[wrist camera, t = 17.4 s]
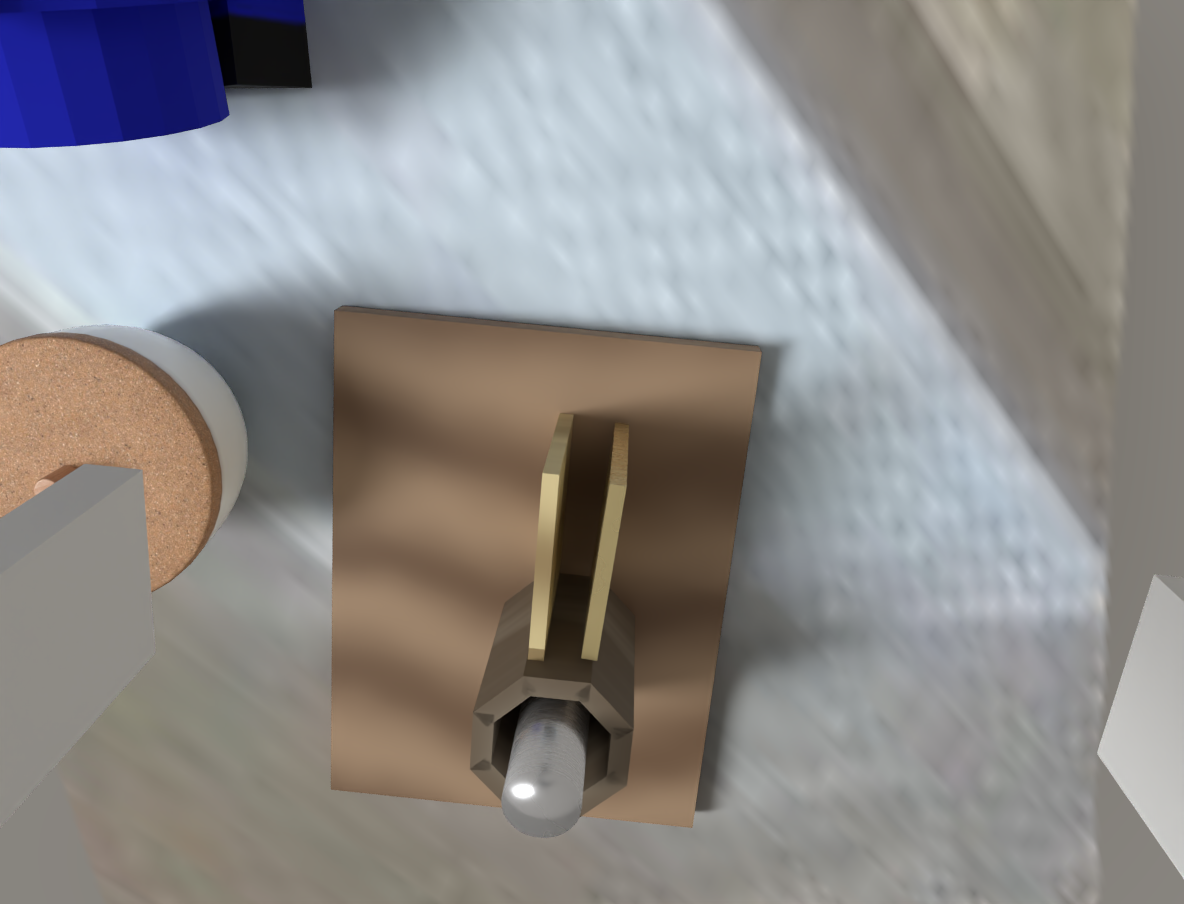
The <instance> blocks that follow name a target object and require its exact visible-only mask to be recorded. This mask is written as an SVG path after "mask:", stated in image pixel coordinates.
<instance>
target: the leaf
mask: <svg viewBox="0 0 1184 904" xmlns="http://www.w3.org/2000/svg"><path fill="white" fill-rule="evenodd" d="M628 438H629V424H625V423H619V422H615V426H614V432H613V438H612V444H611V451H610V457H609V463H608V469H607V475H606V481H605V488H604V494H603V500H602V506H601V512H600V518H599V525H598V531H597V537H596V543H595V549H594V555H593V562H592V568H591V576H590V585H589V593H588V602H587V611H586V620H585V629H584V638H583V647H582V655H581V658H582V659H588V660H595V661H597V658H598V652H599V646H600V641H601V635H602V629H603V623H604V617H605V611H606V605H607V599H608V593H609V588H610V582H611V576H612V570H613V564H614V558H615V552H616V546H617V540H618V534H619V529H620V523H621V517H622V511H623V505H624V499H625V493H626V487H627V464H628Z"/></svg>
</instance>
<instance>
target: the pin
mask: <svg viewBox="0 0 1184 904" xmlns="http://www.w3.org/2000/svg"><path fill="white" fill-rule="evenodd" d="M589 720H590V712H589V711H588V709H587V708H586V707H585V706H584V705H583V704H582V703H581V702H580V701H573V700H563V699H553V698H544V697H534V696H530V697H529V698H527V699H526V700H525V701H523V702H522V703H521V708H520V713H519V717H518V722H517V727H516V732H515V736H514V741H513V746H512V751H511V755H510V760H509V765H508V769H507V774H506V779H505V784H504V788H503V793H502V799H501V805H502V810H503V813H504V815H505V817H506V819H507V820H508V822H509V823H510V824H511V825H512V826H513V827H514V828H516V829H517V830H518V831H520V832H522V833H524V834H527V835H529V836H533V837H540V838H548V837H554V836H558V835H560V834H563V833H565V832H566V831H568V830H569V829H571V828H572V827H573V826H574V825H575V823H576V822H577V821H578V819H579V817H580V814H581V809H582V798H583V787H584V776H585V765H586V754H587V743H588V731H589Z"/></svg>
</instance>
